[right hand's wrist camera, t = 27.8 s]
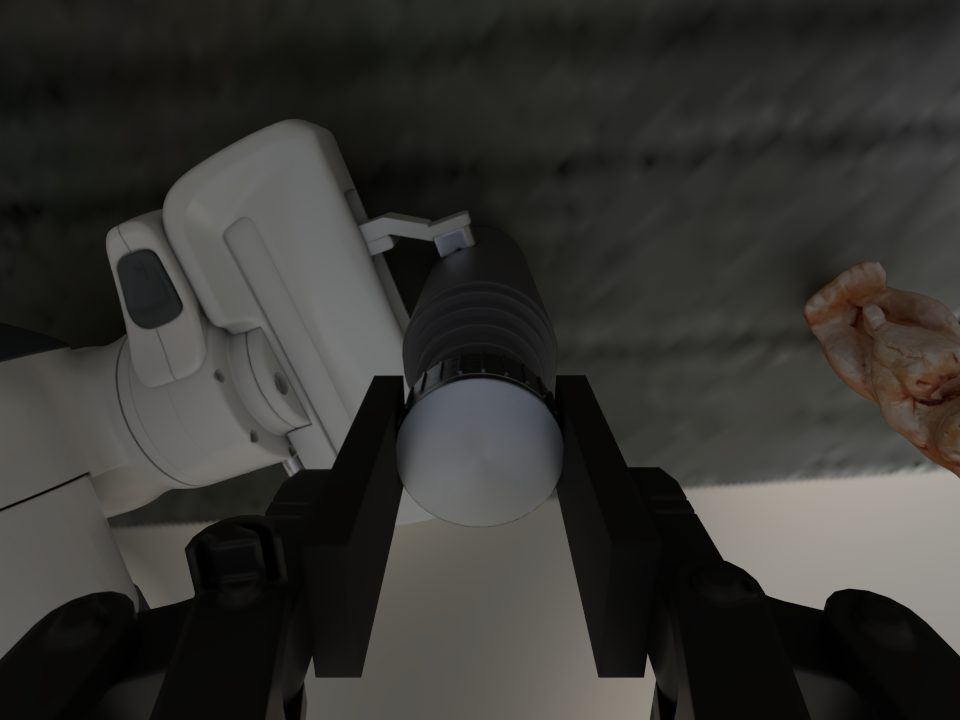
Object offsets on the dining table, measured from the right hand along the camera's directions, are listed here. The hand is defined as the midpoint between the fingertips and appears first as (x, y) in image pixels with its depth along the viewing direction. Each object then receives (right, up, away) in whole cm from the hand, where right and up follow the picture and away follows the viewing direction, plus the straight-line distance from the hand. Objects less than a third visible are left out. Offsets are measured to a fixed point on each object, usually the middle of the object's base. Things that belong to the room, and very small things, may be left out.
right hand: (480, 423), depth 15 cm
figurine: (+20, +4, +18) cm, 28 cm away
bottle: (0, +7, +17) cm, 19 cm away
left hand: (+1, +5, +12) cm, 13 cm away
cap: (0, -1, -1) cm, 1 cm away
